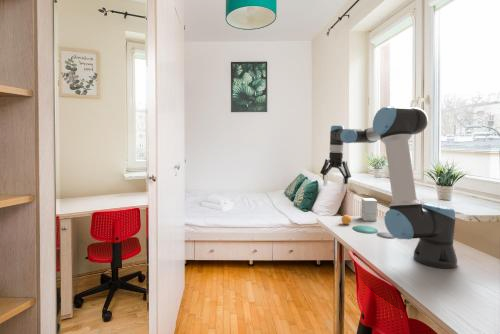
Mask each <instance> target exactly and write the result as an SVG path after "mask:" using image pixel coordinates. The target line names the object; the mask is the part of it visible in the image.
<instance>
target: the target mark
mask: <svg viewBox="0 0 500 334" xmlns="http://www.w3.org/2000/svg"><path fill="white" fill-rule="evenodd" d="M352 230H353V231H355V232H358V233H362V234H377V233H379V230H378V229H377V228H376V227H373V226H368V225H355V226H352Z"/></svg>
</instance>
